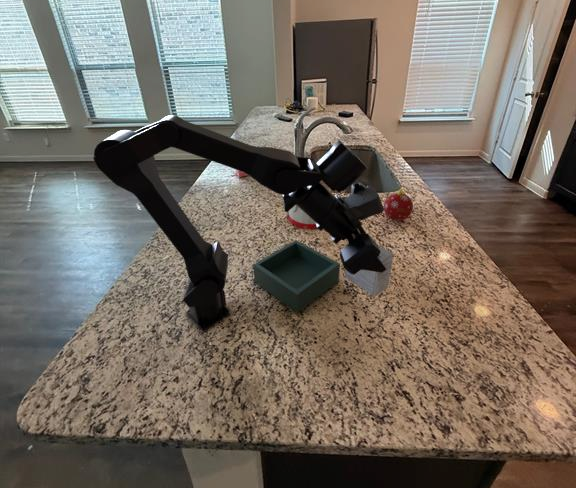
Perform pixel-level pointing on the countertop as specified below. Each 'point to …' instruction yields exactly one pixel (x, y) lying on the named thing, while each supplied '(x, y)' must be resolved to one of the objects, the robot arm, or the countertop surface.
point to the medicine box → (374, 275)
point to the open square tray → (296, 274)
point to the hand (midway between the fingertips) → (376, 255)
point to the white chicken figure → (301, 218)
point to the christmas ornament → (398, 206)
